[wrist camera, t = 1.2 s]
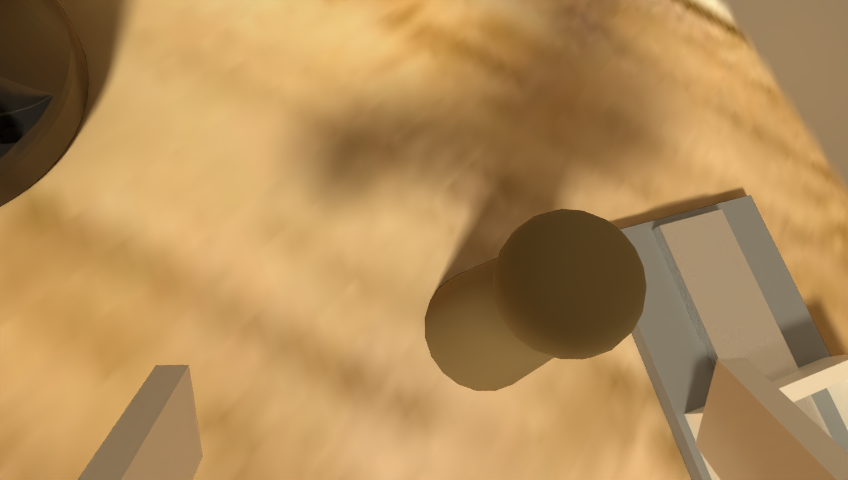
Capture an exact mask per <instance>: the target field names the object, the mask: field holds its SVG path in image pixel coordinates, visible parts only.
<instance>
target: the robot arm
mask: <svg viewBox="0 0 848 480" xmlns="http://www.w3.org/2000/svg"><path fill="white" fill-rule="evenodd" d="M87 94H88V69H87V63H86V58H85V54H84V51H83V48H82V45H81V43H80V41H79V38H78V36H77V34H76V32H75V31H74V29H73V27H72V25H71V23H70V21H69V19H68V18H67V16H66V14H65V12H64V10H63V8H62V7H61V5H60V3H59V1H58V0H0V206H2V205H4V204H5V203H7V202H9V201H10V200H12V199H13V198H15V197H16V196H18V195H19V194H21V193H22V192H23V191H25V190H26V189H27V188H29V187H30V186H31V185H32V184H34V183H35V182H36V181H37V180H38V179H39V178H40V177H42V176H43V175H44V174H45V173H46V172H47V171H48V170H49V169H50V168H51V166H52V165H53V164H54V163H55V162H56V161H57V160H58V158H59V157H60V156H61V155H62V153H63V152H64V150H65V149H66V148H67V146H68V145H69V143H70V141H71V140H72V138H73V136H74V134H75V132H76V130H77V128H78V126H79V124H80V121H81V118H82V116H83V113H84V109H85V105H86V100H87ZM695 445H696V447H697V448H698V450H699V451H700V452H701V454H702V455H703V456H704V458H705V459H706V461H707V462H708V463H709V465H710V466H711V467H712V469H713V470H714V471H715V473H716V474H717V476H718V477H719V478H720V480H848V453H847V452H846V451H845V450H844V449H843V448H842V447H841V446H840V445H838V444H837V443H836V442H835V441H834V440H833V439H832V438H831V437H830V436H829V435H828V434H827V433H826V432H825V431H823V430H822V429H821V428H820V427H819V426H818V425H817V424H816V423H815V422H814V421H813V420H812V419H811V418H810V417H808V416H807V415H806V414H805V413H804V412H803V411H802V410H801V409H800V408H799V407H798V406H797V405H796V404H795V403H793V402H792V401H791V400H790V399H789V398H788V397H787V396H786V395H785V394H784V393H783V392H782V391H781V390H779V389H778V388H777V387H776V386H775V385H774V384H773V383H772V382H771V381H770V380H769V379H768V378H767V377H766V376H764V375H763V374H762V373H761V372H760V371H759V370H758V369H757V368H756V367H755V366H754V365H753V364H752V363H751V362H749V361H748V360H747V359H746V358H724V359H717V361H716V365H715V369H714V373H713V377H712V381H711V384H710V388H709V392H708V396H707V400H706V404H705V408H704V412H703V416H702V420H701V424H700V428H699V431H698V435H697V439H696V443H695ZM202 457H203V455H202V448H201V441H200V435H199V428H198V422H197V415H196V409H195V402H194V395H193V389H192V382H191V376H190V369H189V365H156V366H155V368H154V369H153V370H152V372H151V373H150V375H149V376H148V378H147V379H146V381H145V382H144V384H143V385H142V387H141V388H140V389H139V391H138V392H137V394H136V395H135V397H134V398H133V400H132V401H131V403H130V404H129V406H128V407H127V408H126V410H125V411H124V413H123V414H122V416H121V417H120V419H119V420H118V422H117V423H116V424H115V426H114V427H113V429H112V430H111V432H110V433H109V435H108V436H107V438H106V439H105V441H104V442H103V443H102V445H101V446H100V448H99V449H98V451H97V452H96V454H95V455H94V457H93V458H92V460H91V461H90V462H89V464H88V465H87V467H86V468H85V470H84V471H83V473H82V474H81V476H80V477H79V478H78V480H193V477H194V475H195V473H196V470H197V468H198V466H199V463H200V461H201V459H202Z"/></svg>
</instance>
